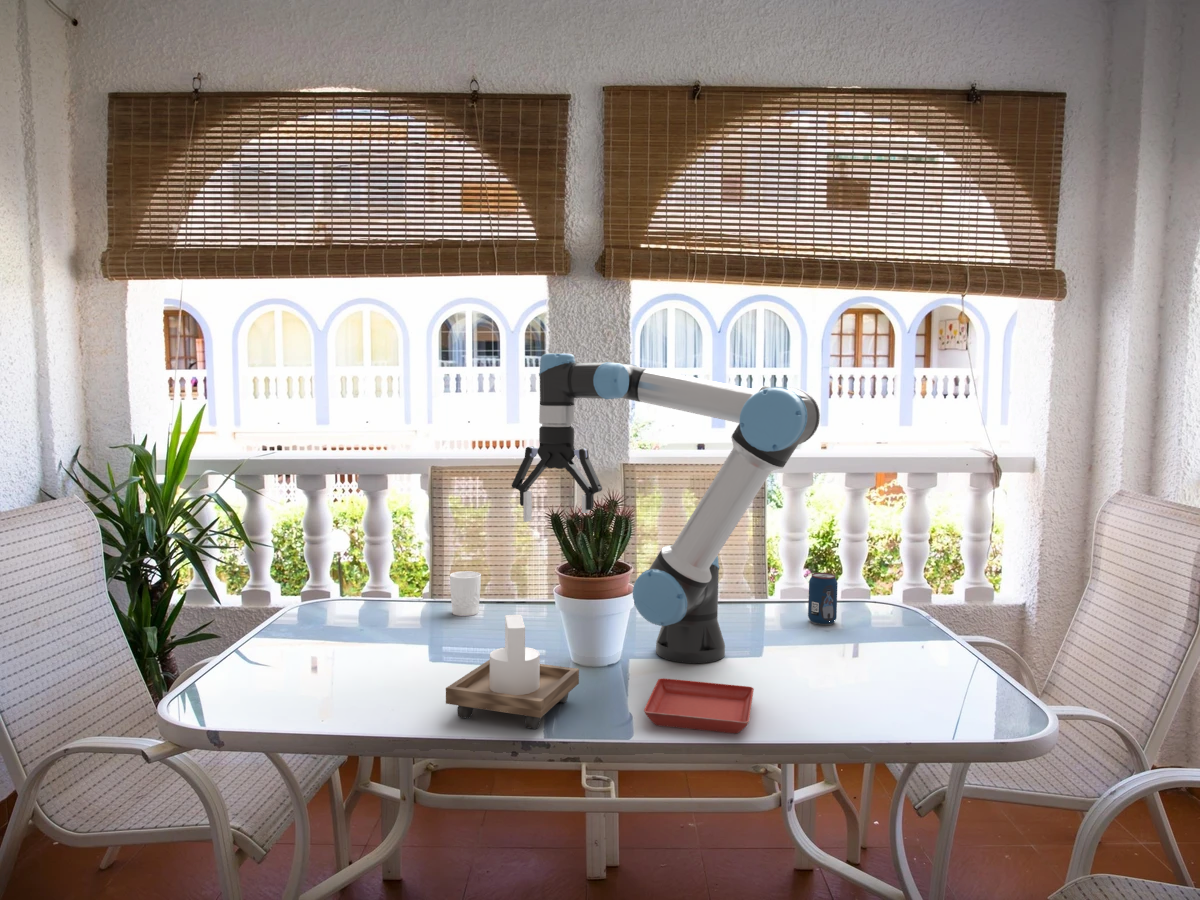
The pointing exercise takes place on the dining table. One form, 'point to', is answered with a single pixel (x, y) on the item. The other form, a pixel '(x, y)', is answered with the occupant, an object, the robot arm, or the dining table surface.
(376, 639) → the dining table surface
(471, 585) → the white cup
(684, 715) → the plant saucer
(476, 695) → the cart
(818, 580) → the soda can
